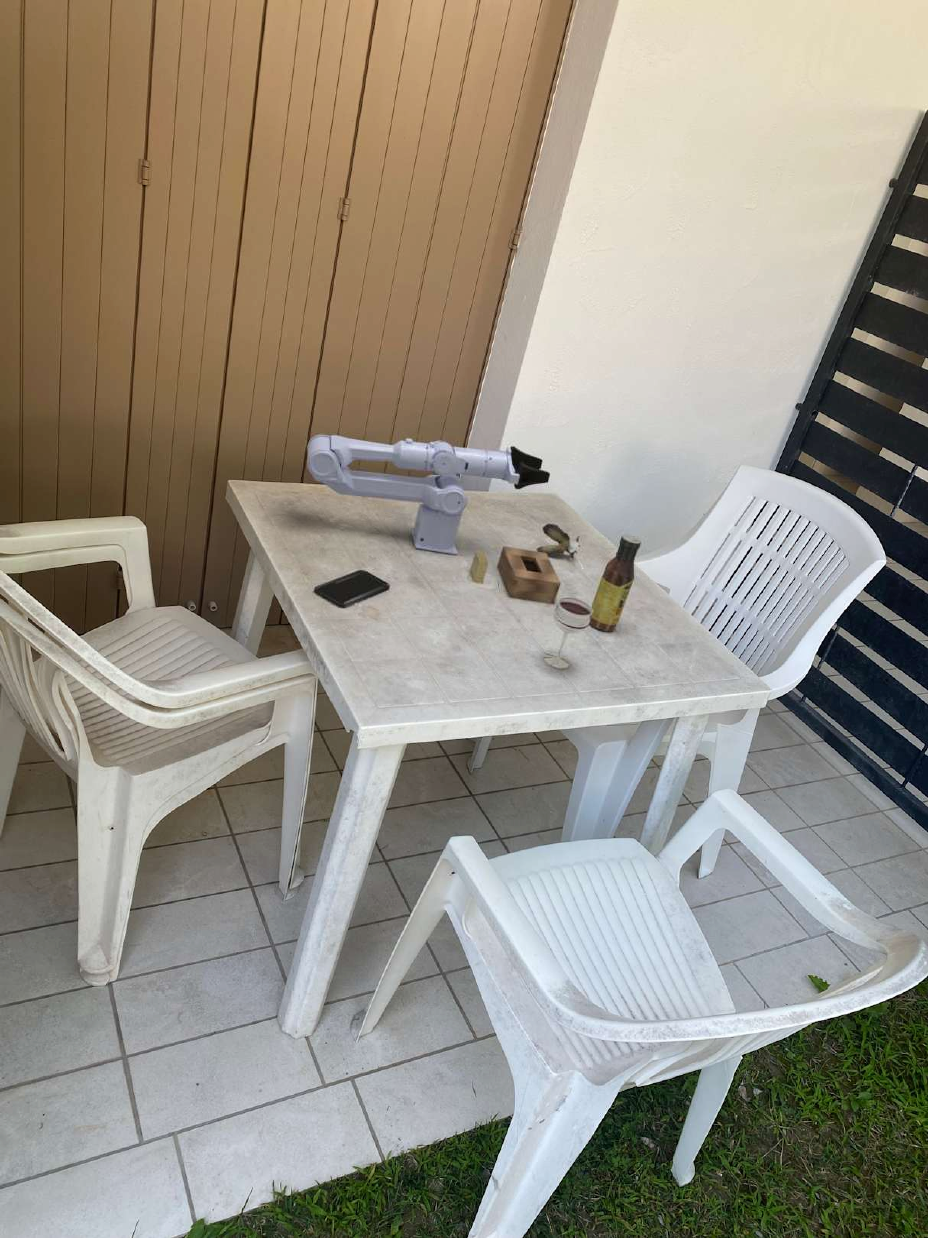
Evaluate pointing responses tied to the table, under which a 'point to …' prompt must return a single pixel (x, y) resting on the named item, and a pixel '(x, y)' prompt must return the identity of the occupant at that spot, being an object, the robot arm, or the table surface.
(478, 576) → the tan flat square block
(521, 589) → the box
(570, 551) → the eagle figurine
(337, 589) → the phone
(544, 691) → the table surface
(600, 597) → the sauce bottle
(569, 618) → the wineglass
